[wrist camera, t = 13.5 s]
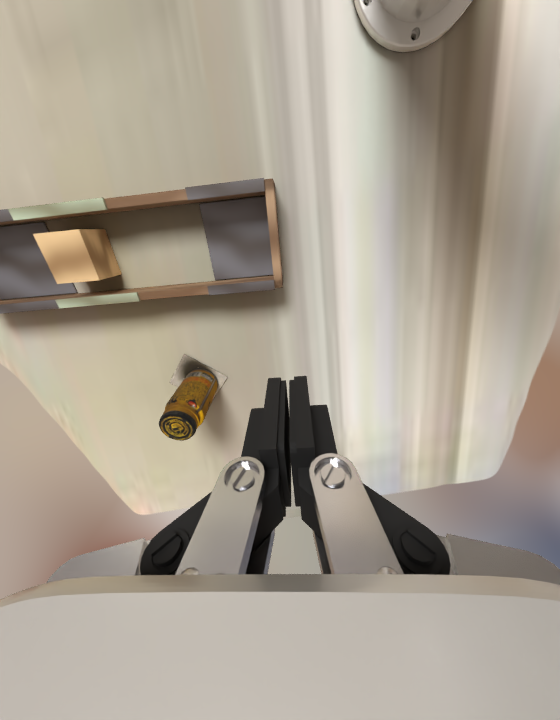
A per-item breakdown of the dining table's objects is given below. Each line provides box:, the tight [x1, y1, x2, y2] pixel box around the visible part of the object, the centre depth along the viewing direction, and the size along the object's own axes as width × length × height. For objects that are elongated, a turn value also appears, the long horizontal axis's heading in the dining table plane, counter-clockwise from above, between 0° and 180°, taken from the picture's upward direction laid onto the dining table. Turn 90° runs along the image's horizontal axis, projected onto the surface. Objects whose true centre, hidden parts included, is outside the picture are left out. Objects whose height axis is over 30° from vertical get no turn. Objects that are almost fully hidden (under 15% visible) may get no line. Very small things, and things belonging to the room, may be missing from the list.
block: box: [33, 229, 121, 284], centre depth 34 cm, size 6×6×5 cm
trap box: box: [0, 178, 283, 313], centre depth 34 cm, size 12×46×4 cm, turn 95°
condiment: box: [159, 354, 227, 440], centre depth 40 cm, size 7×8×12 cm
